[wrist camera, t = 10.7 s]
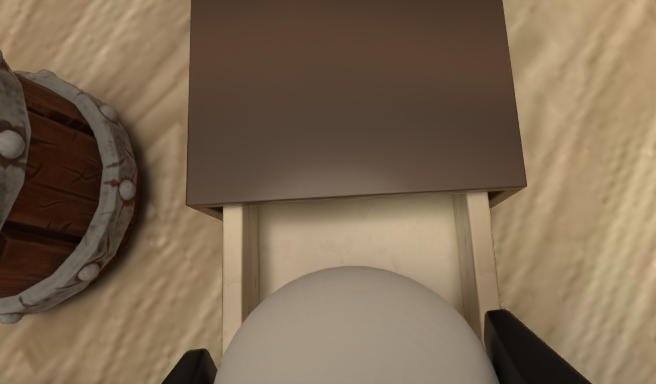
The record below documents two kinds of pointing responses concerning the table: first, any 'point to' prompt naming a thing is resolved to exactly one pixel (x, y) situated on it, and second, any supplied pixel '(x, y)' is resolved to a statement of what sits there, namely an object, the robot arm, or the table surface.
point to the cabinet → (349, 101)
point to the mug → (59, 190)
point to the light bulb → (355, 334)
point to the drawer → (362, 249)
